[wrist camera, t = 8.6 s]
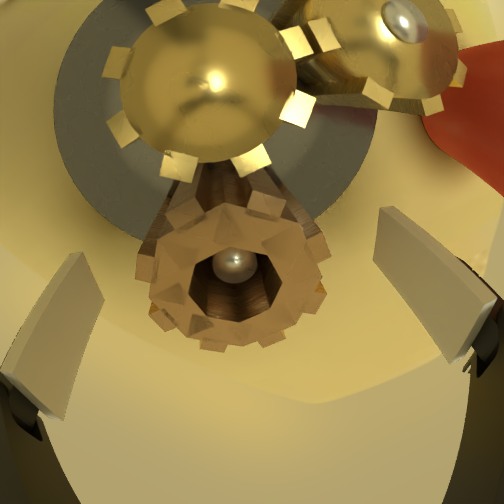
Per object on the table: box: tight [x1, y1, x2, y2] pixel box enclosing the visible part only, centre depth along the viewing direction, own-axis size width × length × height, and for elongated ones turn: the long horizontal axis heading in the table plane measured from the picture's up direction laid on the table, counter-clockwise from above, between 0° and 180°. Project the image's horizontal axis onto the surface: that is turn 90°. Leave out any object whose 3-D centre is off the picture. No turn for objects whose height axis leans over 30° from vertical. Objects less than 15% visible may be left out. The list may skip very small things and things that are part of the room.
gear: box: [135, 163, 331, 353], centre depth 12 cm, size 7×7×6 cm
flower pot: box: [421, 40, 504, 197], centre depth 9 cm, size 11×11×10 cm
